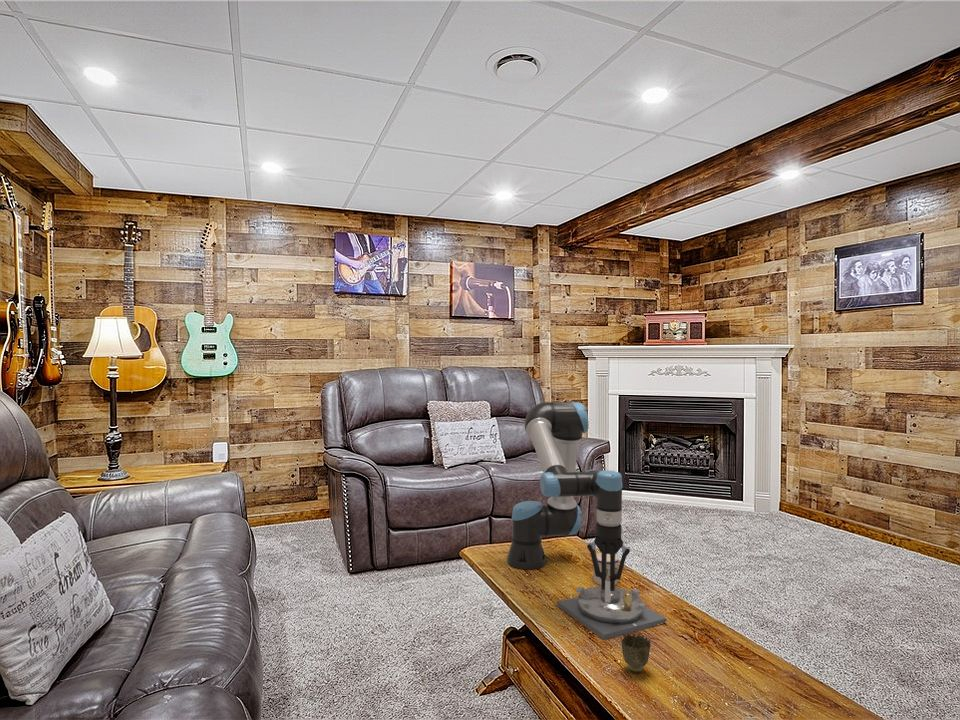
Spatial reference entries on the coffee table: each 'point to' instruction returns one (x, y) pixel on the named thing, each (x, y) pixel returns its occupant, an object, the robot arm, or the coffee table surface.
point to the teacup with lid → (599, 557)
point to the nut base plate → (610, 629)
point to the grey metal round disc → (611, 605)
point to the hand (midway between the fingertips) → (607, 600)
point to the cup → (635, 651)
